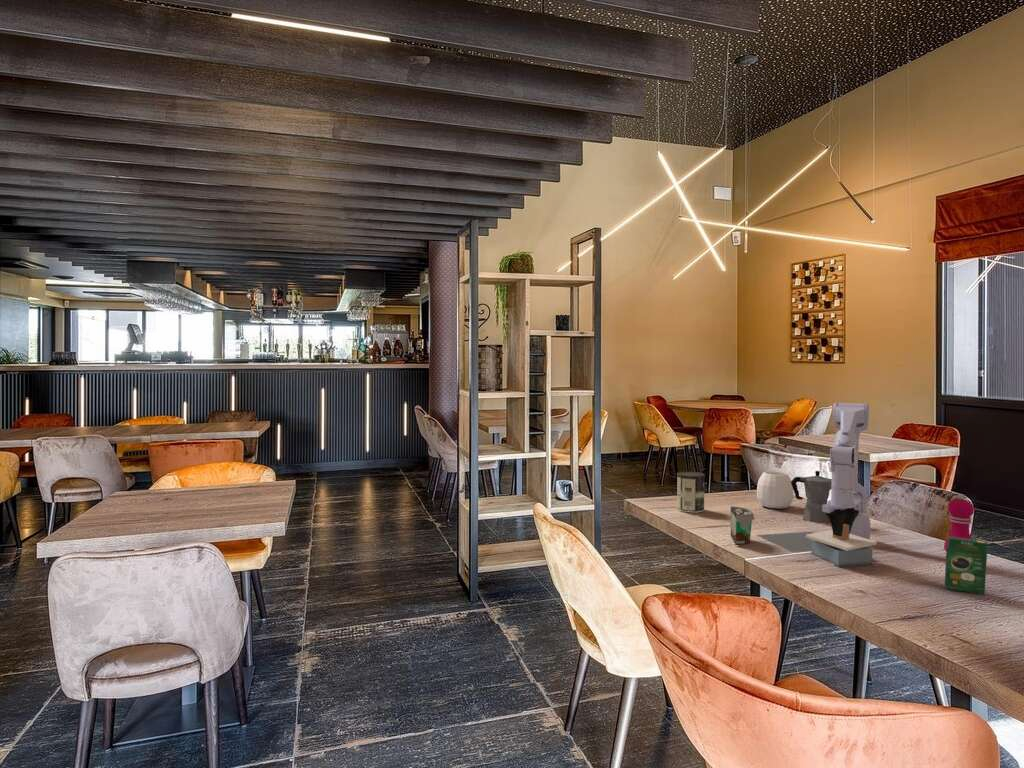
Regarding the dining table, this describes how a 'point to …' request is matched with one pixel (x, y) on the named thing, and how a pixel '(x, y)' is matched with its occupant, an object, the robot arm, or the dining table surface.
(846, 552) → the dish
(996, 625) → the dining table surface
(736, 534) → the food container
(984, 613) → the dining table surface
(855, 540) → the lid
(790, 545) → the mat
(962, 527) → the pepper mill
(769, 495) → the white vase
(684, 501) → the coffee can
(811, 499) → the coffeepot
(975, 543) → the coffee box
